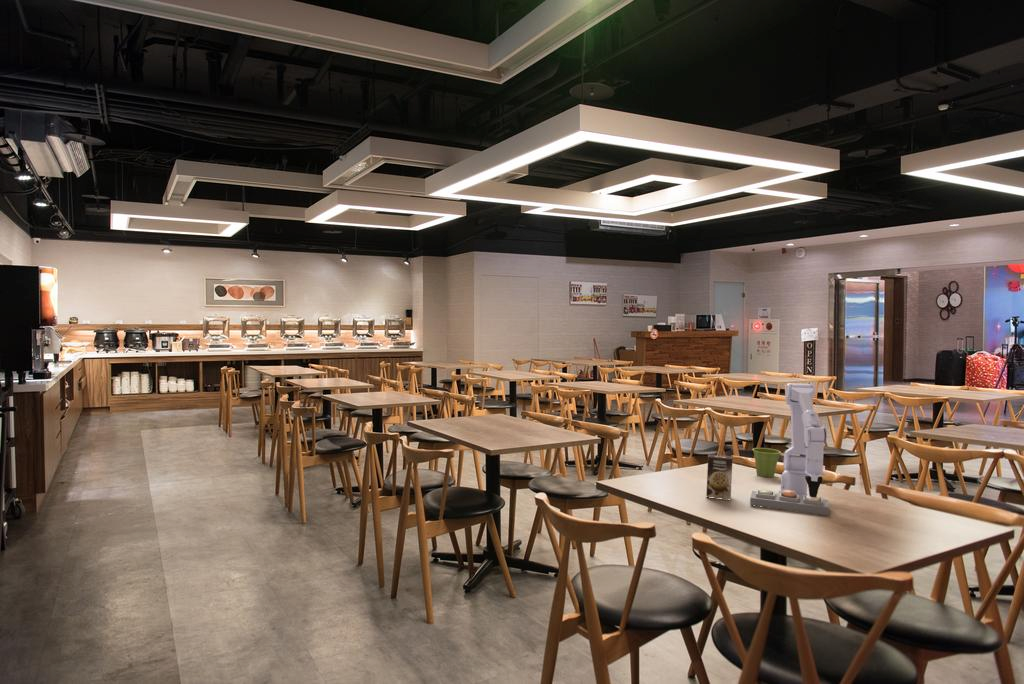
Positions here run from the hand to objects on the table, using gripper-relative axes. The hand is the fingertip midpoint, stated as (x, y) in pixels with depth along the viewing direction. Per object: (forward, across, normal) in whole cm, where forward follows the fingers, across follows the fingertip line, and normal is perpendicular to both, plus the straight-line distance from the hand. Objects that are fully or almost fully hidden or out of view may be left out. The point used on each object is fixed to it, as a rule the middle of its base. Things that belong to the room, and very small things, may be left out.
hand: (813, 496), depth 231 cm
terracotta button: (+1, 0, +8) cm, 8 cm away
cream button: (+1, 0, 0) cm, 1 cm away
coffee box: (+5, +1, +33) cm, 33 cm away
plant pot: (+5, +48, +18) cm, 52 cm away
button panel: (+5, 0, +8) cm, 9 cm away
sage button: (+2, 0, +16) cm, 16 cm away
